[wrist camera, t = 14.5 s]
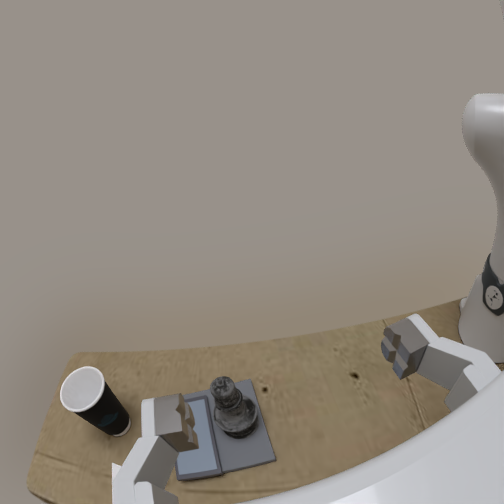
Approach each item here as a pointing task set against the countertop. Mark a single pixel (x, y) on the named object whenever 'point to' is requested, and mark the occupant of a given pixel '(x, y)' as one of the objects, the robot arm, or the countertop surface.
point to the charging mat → (240, 450)
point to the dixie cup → (94, 401)
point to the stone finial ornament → (233, 409)
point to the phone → (200, 446)
